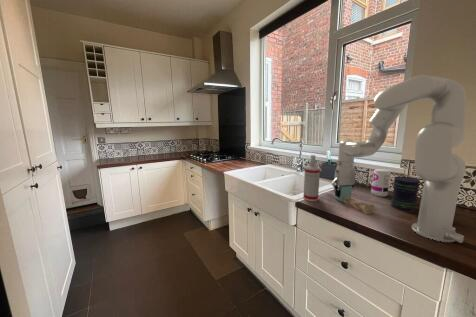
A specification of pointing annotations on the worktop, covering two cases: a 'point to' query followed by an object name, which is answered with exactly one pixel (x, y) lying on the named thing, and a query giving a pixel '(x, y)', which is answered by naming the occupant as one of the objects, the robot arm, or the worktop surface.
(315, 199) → the spray bottle
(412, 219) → the worktop surface
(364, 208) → the rail
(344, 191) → the block
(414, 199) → the storage jar
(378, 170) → the supplement can
